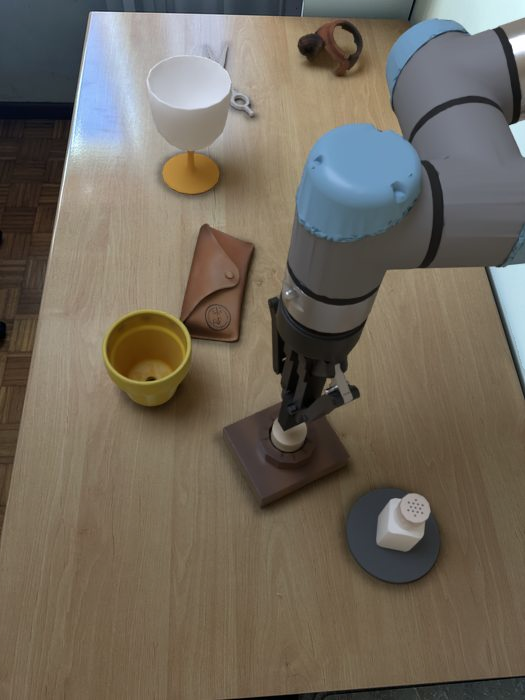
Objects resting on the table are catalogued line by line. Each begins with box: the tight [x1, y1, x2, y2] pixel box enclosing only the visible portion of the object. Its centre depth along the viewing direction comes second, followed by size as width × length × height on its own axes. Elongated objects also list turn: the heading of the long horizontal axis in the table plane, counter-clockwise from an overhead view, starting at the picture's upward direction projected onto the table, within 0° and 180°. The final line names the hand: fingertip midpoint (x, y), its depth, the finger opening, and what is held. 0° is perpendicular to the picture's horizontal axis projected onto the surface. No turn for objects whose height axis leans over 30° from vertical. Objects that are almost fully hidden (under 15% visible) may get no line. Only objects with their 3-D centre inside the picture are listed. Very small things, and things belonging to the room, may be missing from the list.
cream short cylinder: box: [271, 418, 307, 452], centre depth 77 cm, size 4×4×2 cm
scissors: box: [205, 42, 255, 118], centre depth 117 cm, size 11×1×20 cm
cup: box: [145, 54, 233, 195], centre depth 98 cm, size 12×12×17 cm
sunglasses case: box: [179, 222, 255, 343], centre depth 93 cm, size 18×7×7 cm, turn 174°
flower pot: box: [101, 308, 193, 407], centre depth 81 cm, size 10×10×10 cm
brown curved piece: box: [296, 19, 364, 76], centre depth 120 cm, size 12×10×8 cm
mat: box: [345, 487, 441, 585], centre depth 77 cm, size 11×11×1 cm
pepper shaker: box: [376, 492, 431, 552], centre depth 73 cm, size 4×4×10 cm
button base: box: [221, 401, 351, 508], centre depth 80 cm, size 12×10×5 cm
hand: (291, 421), depth 74 cm, fingers closed
